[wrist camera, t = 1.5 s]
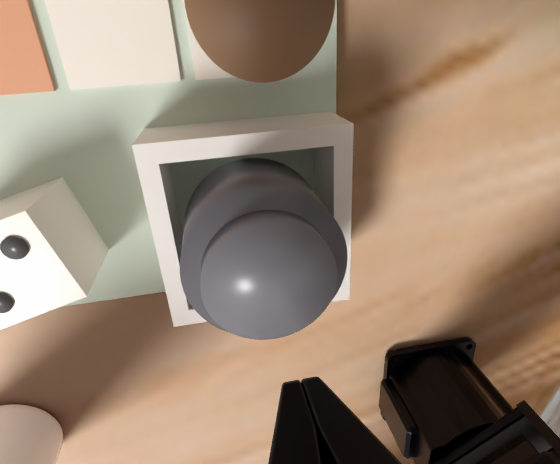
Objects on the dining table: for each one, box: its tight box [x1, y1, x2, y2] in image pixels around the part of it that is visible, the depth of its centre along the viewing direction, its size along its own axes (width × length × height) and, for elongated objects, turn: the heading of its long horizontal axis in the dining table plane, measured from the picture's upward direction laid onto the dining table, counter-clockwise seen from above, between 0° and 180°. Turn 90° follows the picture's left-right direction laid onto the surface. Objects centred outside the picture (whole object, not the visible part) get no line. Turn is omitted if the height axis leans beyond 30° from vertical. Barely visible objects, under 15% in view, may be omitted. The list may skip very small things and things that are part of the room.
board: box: [0, 0, 354, 327], centre depth 16 cm, size 18×16×4 cm
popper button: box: [180, 158, 348, 340], centre depth 15 cm, size 6×6×5 cm
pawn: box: [184, 0, 335, 83], centre depth 13 cm, size 4×4×6 cm
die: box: [0, 177, 109, 330], centre depth 16 cm, size 4×4×4 cm
